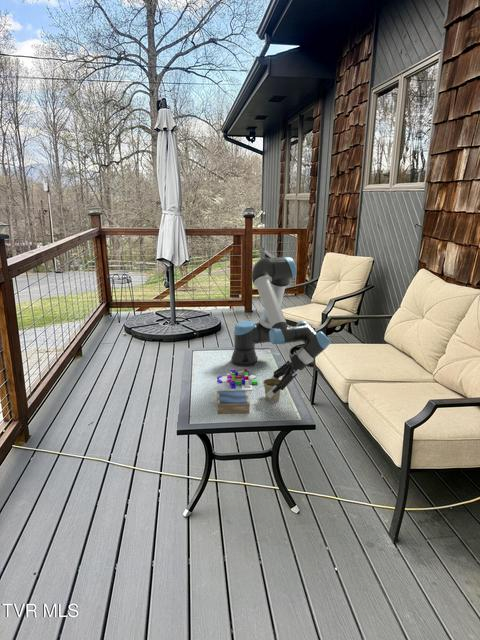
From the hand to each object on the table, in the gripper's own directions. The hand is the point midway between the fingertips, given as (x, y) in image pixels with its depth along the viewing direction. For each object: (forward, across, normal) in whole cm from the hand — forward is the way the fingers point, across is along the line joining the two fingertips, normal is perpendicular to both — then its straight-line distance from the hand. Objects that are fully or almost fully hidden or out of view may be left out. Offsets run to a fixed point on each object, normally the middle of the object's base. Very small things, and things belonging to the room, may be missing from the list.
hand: (266, 391), depth 198 cm
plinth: (+14, -6, +8) cm, 18 cm away
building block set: (+12, +23, +5) cm, 26 cm away
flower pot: (+1, 0, -5) cm, 5 cm away
